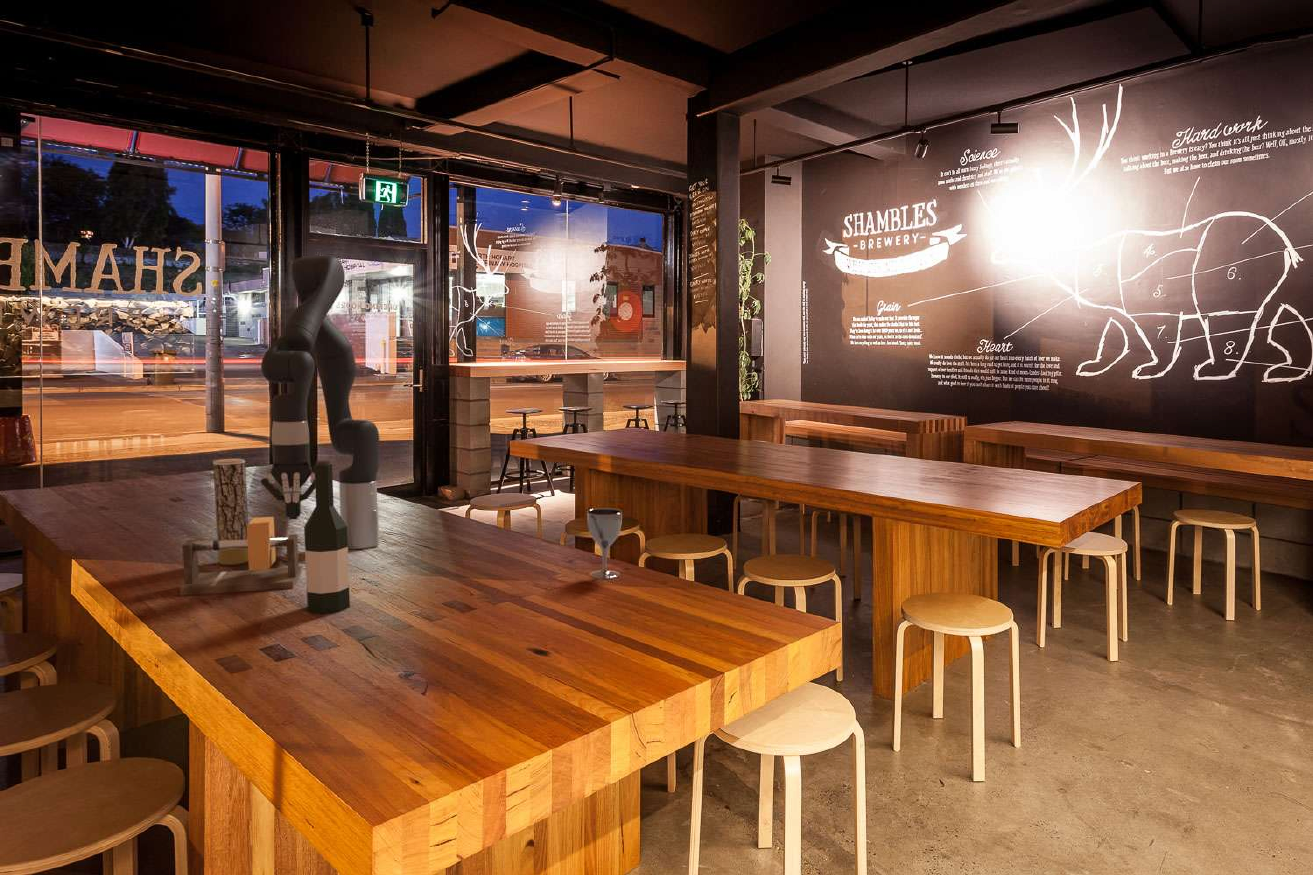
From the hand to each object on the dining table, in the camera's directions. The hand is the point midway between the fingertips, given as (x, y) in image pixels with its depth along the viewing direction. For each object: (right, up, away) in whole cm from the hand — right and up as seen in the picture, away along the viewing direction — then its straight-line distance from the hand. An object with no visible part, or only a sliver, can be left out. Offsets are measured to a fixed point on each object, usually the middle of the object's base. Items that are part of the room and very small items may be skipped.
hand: (293, 518), depth 183 cm
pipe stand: (-10, -14, -1) cm, 18 cm away
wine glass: (+69, -14, +8) cm, 71 cm away
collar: (-7, -10, -1) cm, 12 cm away
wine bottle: (+15, -17, -17) cm, 28 cm away
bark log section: (-22, -13, +16) cm, 30 cm away
